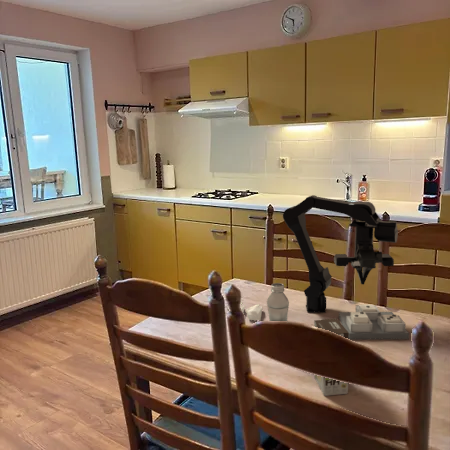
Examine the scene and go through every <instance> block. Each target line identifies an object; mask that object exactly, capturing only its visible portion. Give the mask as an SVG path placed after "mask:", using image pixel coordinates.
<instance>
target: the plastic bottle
mask: <svg viewBox="0 0 450 450" xmlns="http://www.w3.org/2000/svg"><path fill="white" fill-rule="evenodd" d="M270 287H271V289H270V292H271V293H270V294H269V296H268V297H267V298H266V307H267V312H268V322H269V321H287V322H288V317H289V316H288V313H289V306H290V301H289V299H288V297H287V295H286V294H285V293H284V292H285V284H284V283H280V282H275V283H272V284H271V285H270Z"/></svg>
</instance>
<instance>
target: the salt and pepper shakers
mask: <svg viewBox="0 0 450 450" xmlns="http://www.w3.org/2000/svg"><path fill="white" fill-rule="evenodd" d="M240 303H241V309H242V311H243V313H246V317H247V319H248V320H250V321H252V320H254V321H253V322H257V321H256V320H259V321H258V322H261V321H262V313H263V306H262V305H260V303H259V304H255V305H252V306H250V307H248V308H246V307H245V304H243V303H242V302H240ZM228 308H229V307H227V312H229V309H228ZM245 308H246V309H245Z"/></svg>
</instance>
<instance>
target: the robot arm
mask: <svg viewBox="0 0 450 450" xmlns="http://www.w3.org/2000/svg"><path fill="white" fill-rule="evenodd" d="M311 209H318V210H323V211H328V212H333V213H338V214H344V215H346V216H348V217H350V218H352V219H353V221H352V222H350V224H348V226H349V227H353V228H354V227H355V229H354V230H355V232H354V233H355V236H354V237H355V238H354V253H353V254H354V256H348V255H347V254H346V253H337V254H335V255H334V256H333V262H334V264H335V267H336V266H337V267H347V266H348V265H349V263H350V266H351V267H352V268H353V269H355V270H356V272H357V276H358V278H359V281H360V284H361V285H363V286H364V285H365V283H366V280H367V279H368V276H369V274H370V272H371V271H372V270H374V269H376V268H377V267H376V265H377V264H380V263H381V264H382V266H384V267H394V266H395V265H394V263H395V260H394V257H392V256H391V255H390V254H389V253H383V252H382V251H375V250H374V243H373V242H374V238H375V240H377V242H383V243H394V244H395V243H397V242H398V237H399V230H398V225H397V224H398V222H397V221H383V220H382V219H381V217H380V216H379V215H378V213H377V212H376V206H375V205H374V204H373V202H370V201H343V200H339V199H332V198H326V197H321V196H317V195H316V194H315V195H314V194H312V195H309V196H307V197H305V199H304V200H302V201H301V202H300V203H298V204H296V205H293V206H291V207H288V208H286V209H285V210H284V211H283V214H282V218H283V221H284V222H285V224H286V226H287V228H288V229H289V230H290V231H291V232H292V233H293V234H294V237H295V239H296V242H297V245H298V246H299V248H300V249H299V250H300V251H301V254H302V257H303V259H304V261H305V265H306V266H307V269H308V281H309V285H308V287H306V288H305V289H304V290H303V292H304V295H305V297H306V299H305V301H306V302H305V303H306V304H305V309H306V312H307V313H309V314H311V313H313V314H315V313H316V314H317V313H326V310H327V297H326V295H325V291H326V290H327V289H328V288H329V287H330V286H331V284H332V277H333V276H332V275H331V273H330V271H329V267H328V266H327V267H324V266H323V265H322V264H321V263H320V260H319V257H318V255H317V252H316V250H315V246H314V245H313V242H312V240H311V238H310V235H309V232H308V230H307V225H306V224H307V223H306V221H307V219H306V213H307V212H309V211H310V210H311Z"/></svg>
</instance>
